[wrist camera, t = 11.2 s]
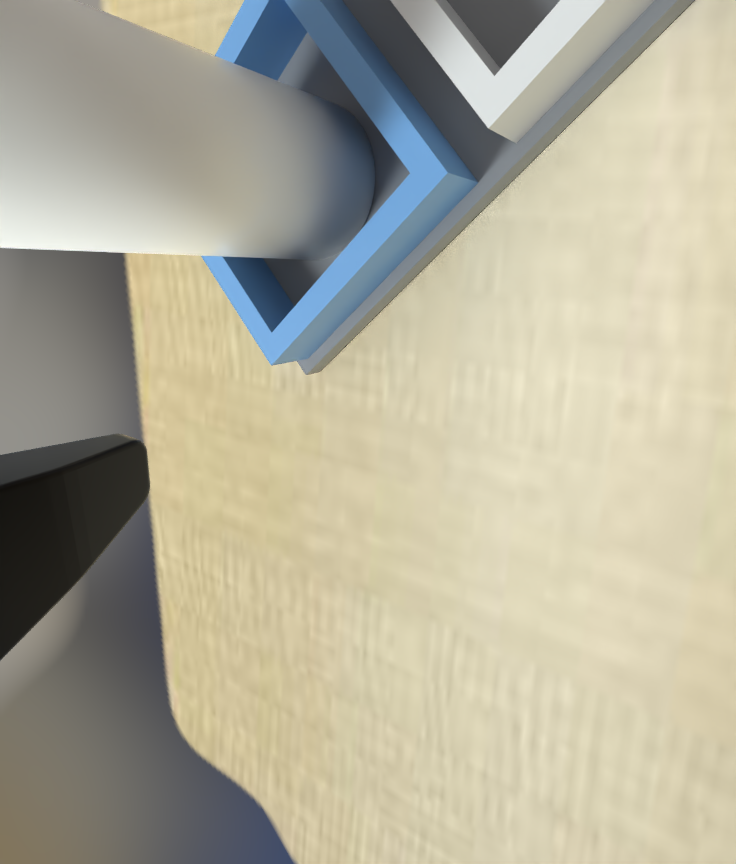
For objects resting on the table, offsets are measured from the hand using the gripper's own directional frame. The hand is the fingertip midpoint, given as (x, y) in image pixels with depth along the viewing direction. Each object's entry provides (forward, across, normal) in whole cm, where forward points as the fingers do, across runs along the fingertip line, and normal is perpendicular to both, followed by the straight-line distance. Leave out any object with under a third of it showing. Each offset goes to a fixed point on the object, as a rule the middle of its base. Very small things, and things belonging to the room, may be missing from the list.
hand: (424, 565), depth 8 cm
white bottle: (+13, +8, -3) cm, 16 cm away
